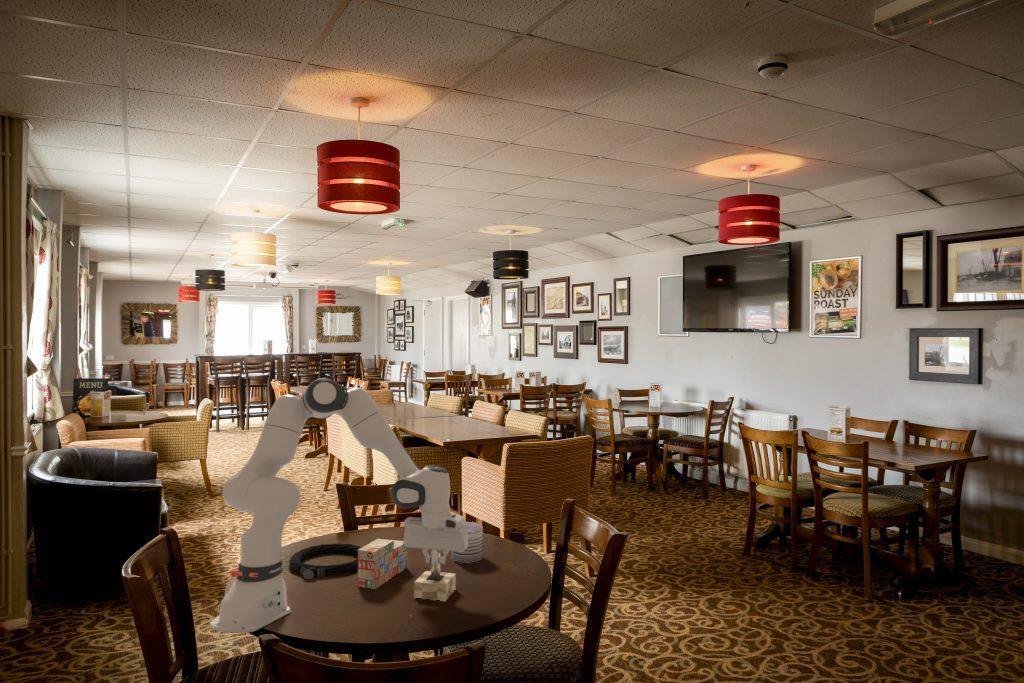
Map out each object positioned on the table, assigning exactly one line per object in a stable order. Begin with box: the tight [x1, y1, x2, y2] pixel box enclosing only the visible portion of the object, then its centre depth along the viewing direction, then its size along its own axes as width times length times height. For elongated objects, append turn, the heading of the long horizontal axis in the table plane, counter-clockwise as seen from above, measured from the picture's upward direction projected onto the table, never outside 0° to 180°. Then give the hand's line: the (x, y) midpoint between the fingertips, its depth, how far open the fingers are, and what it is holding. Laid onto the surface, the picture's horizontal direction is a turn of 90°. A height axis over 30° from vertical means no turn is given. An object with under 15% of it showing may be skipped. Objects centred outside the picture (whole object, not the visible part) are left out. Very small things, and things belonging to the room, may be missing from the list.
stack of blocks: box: [357, 538, 408, 590], centre depth 220 cm, size 21×6×12 cm, turn 160°
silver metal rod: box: [430, 549, 442, 581], centre depth 206 cm, size 3×3×14 cm
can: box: [451, 521, 484, 563], centre depth 239 cm, size 11×11×12 cm
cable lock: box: [288, 542, 363, 580], centre depth 232 cm, size 28×4×30 cm
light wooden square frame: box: [413, 570, 457, 602], centre depth 206 cm, size 10×10×5 cm
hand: (435, 562), depth 206 cm, fingers closed on silver metal rod, 3 cm apart
